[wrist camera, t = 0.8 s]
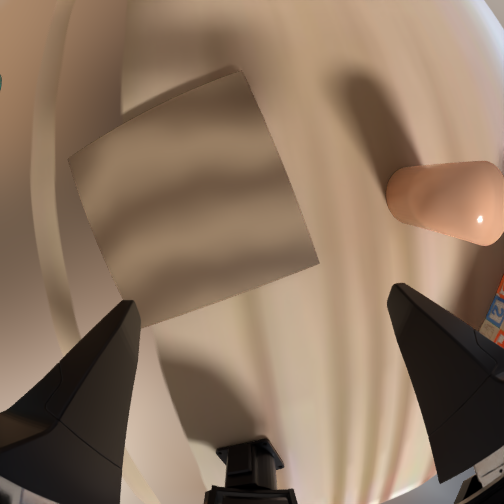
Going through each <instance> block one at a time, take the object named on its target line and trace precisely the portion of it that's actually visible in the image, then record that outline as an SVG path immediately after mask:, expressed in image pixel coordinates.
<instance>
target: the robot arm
mask: <svg viewBox="0 0 504 504" xmlns="http://www.w3.org/2000/svg"><path fill="white" fill-rule="evenodd" d="M387 308H388V311H389V315H390V318H391V322H392V325H393V329H394V332H395V336H396V339H397V343H398V345H399V348H400V351H401V353H402V356H403V359H404V362H405V364H406V367H407V370H408V373H409V376H410V379H411V382H412V385H413V387H414V391H415V394H416V397H417V400H418V403H419V406H420V409H421V413H422V416H423V420H424V423H425V426H426V430H427V434H428V436H429V437H428V438H429V442H430V445H431V449H432V453H433V458H434V462H435V466H436V470H437V475H438V480H439V483H440V484H441V483H443V482H445V481H447V480H449V479H451V478H453V477H455V476H457V475H458V474H460V473H462V472H464V471H465V470H467V469H469V468H471V467H472V466H473V467H474V470H475V473H476V474H475V475H473V476H472V477H470V478H468V479H467V480H465V481H463V483H462V486H461V488H460V491H459V493H458V495H457V497H456V500H455V502H454V504H504V348H503V347H501V346H499V345H498V344H496V343H494V342H493V341H491V340H490V339H488V338H487V337H485V336H484V335H482V334H481V333H479V332H478V331H477V330H475V329H473V328H472V327H471V326H469V325H468V324H466V323H465V322H463V321H462V320H460V319H459V318H457V317H456V316H454V315H453V314H451V313H450V312H448V311H447V310H445V309H444V308H442V307H441V306H439V305H438V304H436V303H435V302H433V301H432V300H430V299H429V298H427V297H425V296H424V295H422V294H421V293H419V292H418V291H416V290H414V289H413V288H411V287H410V286H408V285H406V284H405V283H396V284H394V285H393V286H392V288H391V291H390V294H389V297H388V300H387ZM140 330H141V317H140V314H139V311H138V309H137V306H136V303H135V301H134V300H122V301H121V302H120V303H119V304H118V305H117V306H116V307H115V308H113V309H112V310H111V311H110V312H109V313H108V314H107V315H106V316H105V317H104V318H103V319H102V320H101V321H100V322H99V323H98V324H97V325H96V326H95V327H94V328H93V329H92V330H91V331H89V332H88V333H87V334H86V335H85V336H84V338H82V339H81V340H80V341H79V342H78V343H77V344H76V345H75V346H74V347H73V348H72V349H71V350H70V351H69V352H68V353H67V354H66V355H65V356H64V357H63V359H61V360H60V362H59V363H58V364H56V365H55V366H54V368H53V369H52V370H51V371H50V372H49V373H48V374H47V375H46V376H45V377H44V378H43V379H42V380H40V381H39V382H38V383H37V384H36V385H35V386H34V387H33V388H32V389H31V390H29V391H28V392H27V393H26V394H25V395H24V396H23V397H21V398H20V399H19V400H18V401H17V402H16V403H15V404H14V405H13V406H11V407H10V408H9V409H7V410H6V411H3V412H1V413H0V504H120V492H121V478H122V465H123V456H124V447H125V438H126V430H127V422H128V416H129V410H130V403H131V397H132V390H133V385H134V380H135V374H136V369H137V362H138V353H139V352H138V351H139V339H140ZM216 454H217V455H218V457H219V458H220V459H221V460H222V461H223V462H224V464H225V465H226V478H225V487H217V486H214V485H212V489H211V490H209V491H207V492H205V499H204V504H298V503H297V500H296V496H295V493H294V489H288V490H277V480H276V470H278V469H282V468H284V463H283V462H282V460H281V459H280V457H279V456H278V454H277V452H276V451H275V449H274V448H273V446H272V445H271V443H270V441H269V440H268V439H262V440H258V441H254V442H249V443H245V444H240V445H235V446H230V447H225V448H219V449H217V450H216Z"/></svg>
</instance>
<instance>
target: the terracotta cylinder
mask: <svg viewBox="0 0 504 504" xmlns="http://www.w3.org/2000/svg"><path fill="white" fill-rule="evenodd" d="M386 200H387V205H388V207H389V210H390V212H391V213H392V215H393V216H394V217H395V218H396V219H397V220H399V221H400V222H402V223H405V224H409V225H413V226H416V227H420V228H424V229H427V230H431V231H435V232H438V233H442V234H445V235H449V236H452V237H455V238H459V239H462V240H465V241H469V242H472V243H475V244H478V245H482V246H488V245H491V244H493V243H494V242H496V241H497V240H498V239H499V238H500V236H501V235H502V233H503V232H504V176H503V174H502V173H501V171H500V170H499V169H498V168H497V167H496V166H495V165H494V164H492V163H490V162H488V161H473V162H458V163H445V164H433V165H423V166H413V167H404V168H401V169H399V170H397V171H396V172H395V173H394V174H393V175H392V176H391V178H390V180H389V182H388V185H387V189H386Z"/></svg>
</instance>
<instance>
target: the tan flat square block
mask: <svg viewBox="0 0 504 504" xmlns="http://www.w3.org/2000/svg"><path fill="white" fill-rule="evenodd" d="M68 162H69V165H70V168H71V172H72V174H73V178H74V181H75V184H76V187H77V190H78V193H79V196H80V199H81V202H82V205H83V207H84V210H85V213H86V216H87V218H88V221H89V224H90V226H91V229H92V231H93V234H94V236H95V239H96V241H97V244H98V246H99V248H100V251H101V253H102V255H103V258H104V260H105V262H106V264H107V267H108V269H109V271H110V273H111V275H112V278H113V280H114V282H115V284H116V286H117V288H118V290H119V292H120V294H121V296H122V298H123V300H134V301H135V303H136V306H137V309H138V311H139V314H140V317H141V328H144V327H147V326H150V325H153V324H156V323H159V322H162V321H165V320H168V319H171V318H174V317H177V316H180V315H183V314H185V313H188V312H191V311H194V310H197V309H200V308H203V307H205V306H208V305H211V304H214V303H217V302H219V301H222V300H225V299H228V298H230V297H233V296H236V295H239V294H241V293H244V292H247V291H249V290H252V289H255V288H257V287H260V286H263V285H265V284H268V283H271V282H273V281H276V280H278V279H281V278H284V277H286V276H289V275H291V274H294V273H297V272H299V271H302V270H304V269H307V268H309V267H312V266H314V265H317V264H319V260H318V257H317V254H316V251H315V248H314V246H313V243H312V240H311V237H310V234H309V231H308V229H307V226H306V223H305V220H304V218H303V215H302V212H301V210H300V207H299V204H298V202H297V199H296V196H295V194H294V191H293V189H292V186H291V183H290V181H289V178H288V176H287V173H286V171H285V168H284V166H283V163H282V161H281V158H280V156H279V153H278V151H277V149H276V146H275V144H274V141H273V139H272V137H271V134H270V132H269V130H268V127H267V125H266V123H265V120H264V118H263V116H262V113H261V111H260V109H259V107H258V104H257V102H256V100H255V98H254V95H253V93H252V91H251V89H250V87H249V84H248V82H247V80H246V78H245V76H244V74H243V72H242V70H241V71H238V72H235V73H233V74H230V75H227V76H224V77H222V78H219V79H216V80H214V81H211V82H209V83H206V84H204V85H201V86H199V87H197V88H194V89H192V90H190V91H187V92H185V93H183V94H181V95H178V96H176V97H174V98H172V99H170V100H168V101H166V102H163V103H161V104H159V105H157V106H155V107H153V108H151V109H149V110H147V111H146V112H144V113H142V114H140V115H138V116H136V117H134V118H132V119H131V120H129V121H127V122H125V123H123V124H122V125H120V126H118V127H116V128H115V129H113V130H111V131H110V132H108V133H106V134H105V135H103V136H101V137H100V138H98V139H97V140H95V141H94V142H92V143H90V144H89V145H87V146H86V147H84V148H83V149H81V150H80V151H78V152H77V153H75V154H74V155H72V156H71V157H69V158H68Z"/></svg>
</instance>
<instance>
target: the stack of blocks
mask: <svg viewBox="0 0 504 504" xmlns="http://www.w3.org/2000/svg"><path fill="white" fill-rule="evenodd" d="M479 333H481V334H482V335H484V336H485V337H487V338H488V339H490V340H491V341H493V342H494V343H496V344H498V345H499V346H501V347H503V348H504V275H503V277H502V280H501V283H500V285H499V288H498V290H497V292H496V296H495V298H494V300H493V303H492V305H491V307H490V309H489V312H488V314H487V316H486V319H485V320H484V322H483V324H482V326H481V328H480V330H479Z"/></svg>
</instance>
